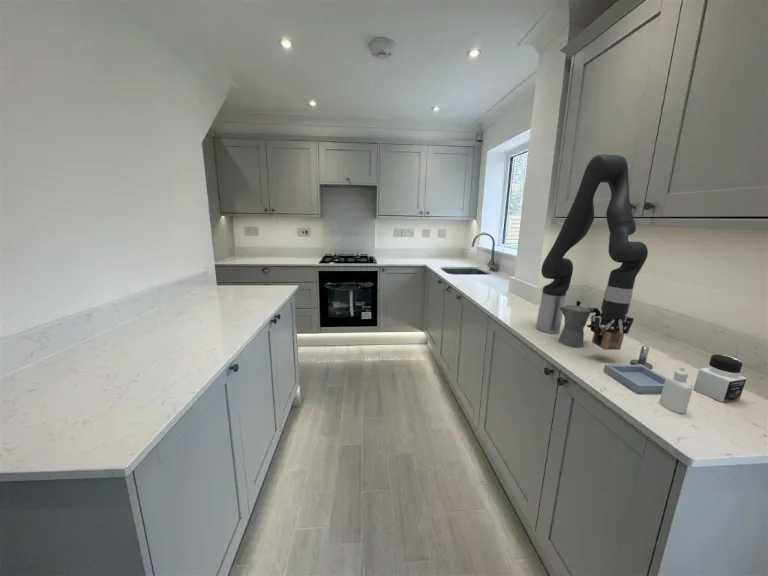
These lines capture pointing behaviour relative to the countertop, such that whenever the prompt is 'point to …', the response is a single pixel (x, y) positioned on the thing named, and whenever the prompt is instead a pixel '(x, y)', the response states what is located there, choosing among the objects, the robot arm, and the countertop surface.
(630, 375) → the tray
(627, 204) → the robot arm
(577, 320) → the coffeepot
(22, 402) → the countertop surface
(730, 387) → the medicine bottle
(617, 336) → the block
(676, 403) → the eye dropper bottle
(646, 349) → the grey metal coffee tamper
